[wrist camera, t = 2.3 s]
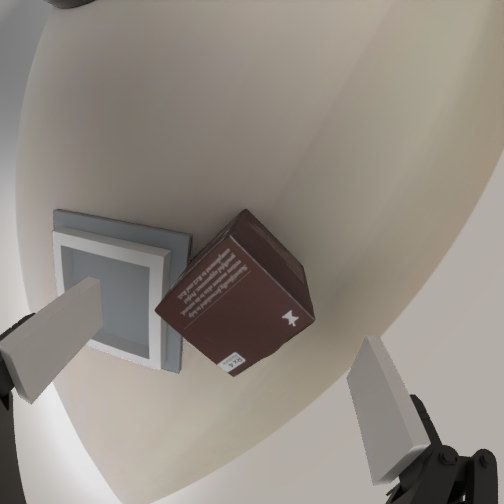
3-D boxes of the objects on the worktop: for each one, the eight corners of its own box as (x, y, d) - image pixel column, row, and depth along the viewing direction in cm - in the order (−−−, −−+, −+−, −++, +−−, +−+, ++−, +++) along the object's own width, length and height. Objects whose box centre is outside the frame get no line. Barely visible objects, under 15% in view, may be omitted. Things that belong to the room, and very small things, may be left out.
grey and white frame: (57, 209, 20) (42, 214, 18) (191, 234, 20) (183, 242, 18) (68, 331, 24) (58, 341, 22) (180, 369, 24) (174, 384, 22)
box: (247, 205, 19) (231, 231, 12) (305, 267, 20) (320, 321, 13) (188, 262, 21) (149, 310, 14) (245, 316, 22) (232, 381, 15)
